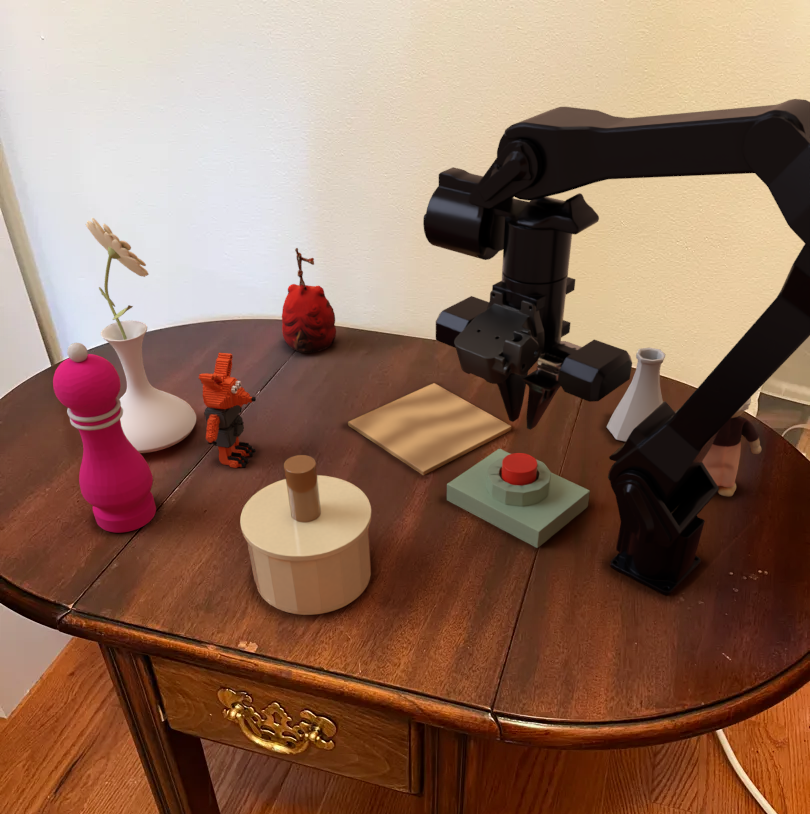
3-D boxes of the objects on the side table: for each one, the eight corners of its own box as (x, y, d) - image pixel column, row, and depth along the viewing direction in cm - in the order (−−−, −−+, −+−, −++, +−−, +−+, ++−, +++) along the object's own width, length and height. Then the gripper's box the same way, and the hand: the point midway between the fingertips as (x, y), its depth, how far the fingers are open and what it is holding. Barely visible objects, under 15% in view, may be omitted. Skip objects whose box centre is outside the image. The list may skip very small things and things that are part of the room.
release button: (543, 475, 87) (544, 461, 86) (522, 491, 85) (523, 477, 84) (515, 462, 89) (516, 448, 88) (494, 477, 87) (495, 463, 86)
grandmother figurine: (739, 476, 92) (768, 373, 84) (751, 497, 89) (782, 393, 81) (669, 479, 92) (692, 376, 84) (679, 500, 89) (704, 396, 81)
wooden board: (511, 430, 100) (511, 426, 100) (423, 475, 94) (423, 471, 93) (434, 386, 109) (434, 382, 108) (348, 425, 102) (347, 421, 102)
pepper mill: (91, 542, 86) (30, 367, 73) (92, 501, 92) (36, 332, 79) (162, 529, 88) (115, 355, 75) (159, 489, 93) (115, 321, 80)
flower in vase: (207, 449, 99) (163, 238, 83) (108, 471, 96) (42, 256, 80) (187, 397, 108) (144, 198, 92) (96, 416, 105) (35, 214, 89)
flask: (663, 414, 102) (679, 339, 96) (672, 447, 97) (689, 370, 90) (603, 412, 103) (615, 338, 97) (608, 445, 98) (621, 368, 91)
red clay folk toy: (341, 335, 121) (333, 231, 111) (331, 358, 115) (322, 251, 106) (289, 333, 121) (277, 229, 112) (277, 356, 116) (263, 249, 106)
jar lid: (398, 519, 78) (396, 460, 73) (301, 586, 71) (293, 524, 67) (311, 470, 84) (305, 412, 80) (215, 526, 77) (202, 467, 73)
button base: (587, 507, 89) (592, 476, 86) (537, 548, 84) (540, 517, 81) (498, 464, 95) (500, 434, 93) (446, 500, 90) (446, 470, 88)
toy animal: (251, 481, 94) (235, 386, 86) (206, 474, 95) (186, 380, 87) (277, 442, 100) (264, 350, 92) (235, 436, 101) (218, 345, 93)
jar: (394, 571, 82) (392, 514, 77) (309, 633, 76) (301, 576, 71) (317, 523, 88) (310, 468, 83) (232, 577, 82) (220, 521, 77)
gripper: (393, 271, 74) (398, 423, 84) (571, 335, 64) (552, 498, 74) (474, 236, 80) (470, 381, 90) (648, 288, 70) (621, 445, 80)
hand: (522, 423), depth 83 cm, fingers closed
